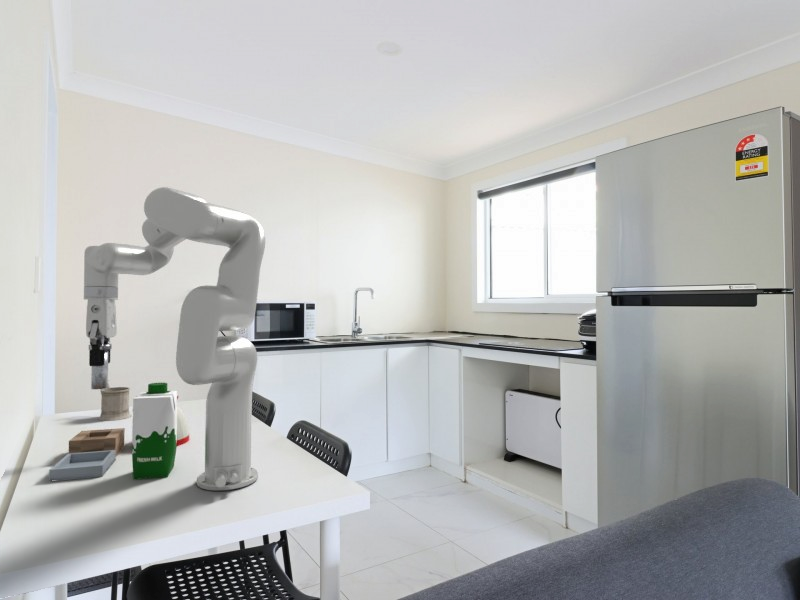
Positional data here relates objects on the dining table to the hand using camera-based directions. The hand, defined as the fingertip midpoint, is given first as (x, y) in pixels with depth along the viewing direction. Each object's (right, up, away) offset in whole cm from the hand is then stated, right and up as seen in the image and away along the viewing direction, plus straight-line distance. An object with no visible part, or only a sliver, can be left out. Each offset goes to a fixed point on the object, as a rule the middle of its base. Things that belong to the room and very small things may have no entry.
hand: (100, 363), depth 122 cm
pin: (0, -6, 0) cm, 6 cm away
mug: (-22, -24, +41) cm, 52 cm away
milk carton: (+21, -23, -14) cm, 35 cm away
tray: (+4, -23, -12) cm, 27 cm away
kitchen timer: (+11, -24, +11) cm, 28 cm away
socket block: (0, -23, 0) cm, 23 cm away
